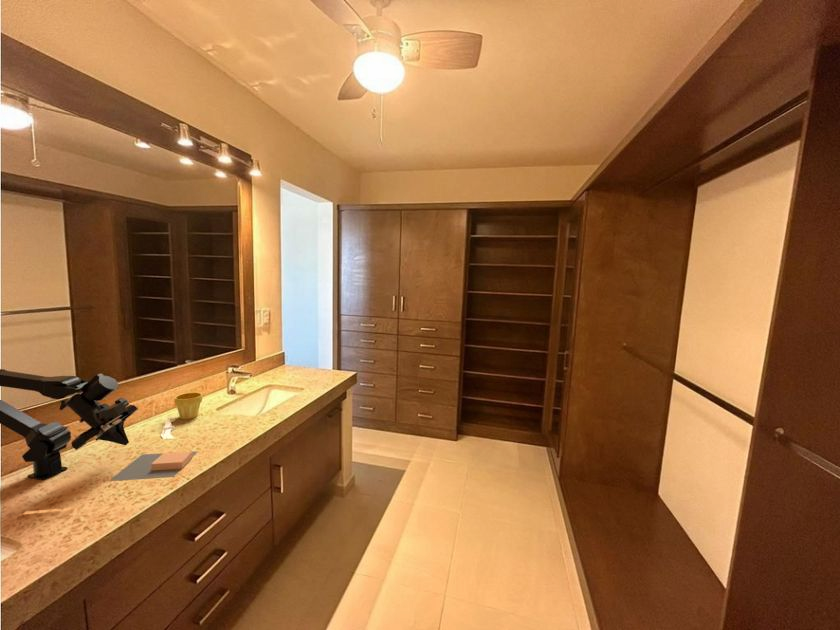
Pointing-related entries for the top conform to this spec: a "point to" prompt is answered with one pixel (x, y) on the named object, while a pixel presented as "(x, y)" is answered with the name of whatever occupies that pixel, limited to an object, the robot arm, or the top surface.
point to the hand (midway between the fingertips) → (127, 443)
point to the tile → (172, 460)
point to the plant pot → (188, 404)
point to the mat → (144, 469)
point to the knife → (168, 429)
